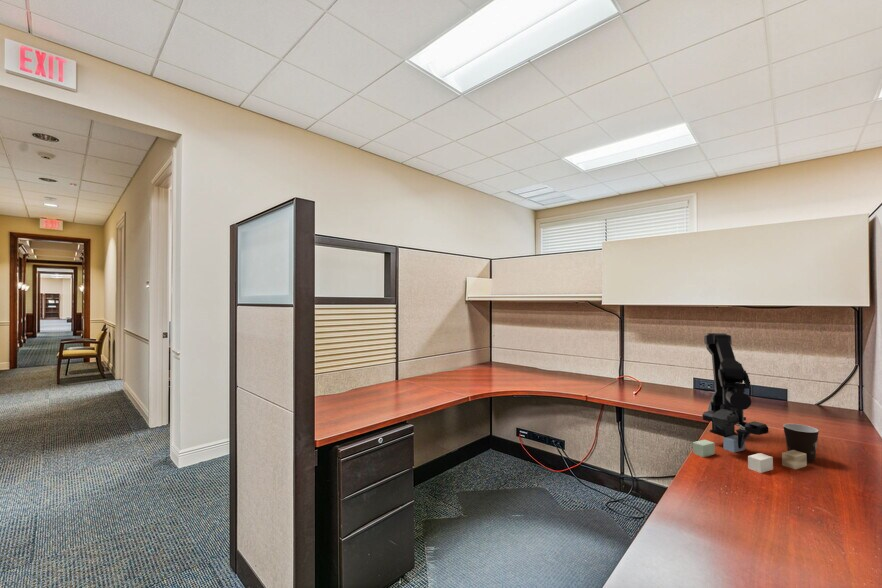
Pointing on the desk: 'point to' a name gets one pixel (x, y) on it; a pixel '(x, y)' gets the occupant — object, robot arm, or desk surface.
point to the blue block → (732, 444)
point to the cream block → (760, 462)
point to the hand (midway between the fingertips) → (734, 446)
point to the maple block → (794, 459)
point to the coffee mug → (801, 439)
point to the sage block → (704, 448)
